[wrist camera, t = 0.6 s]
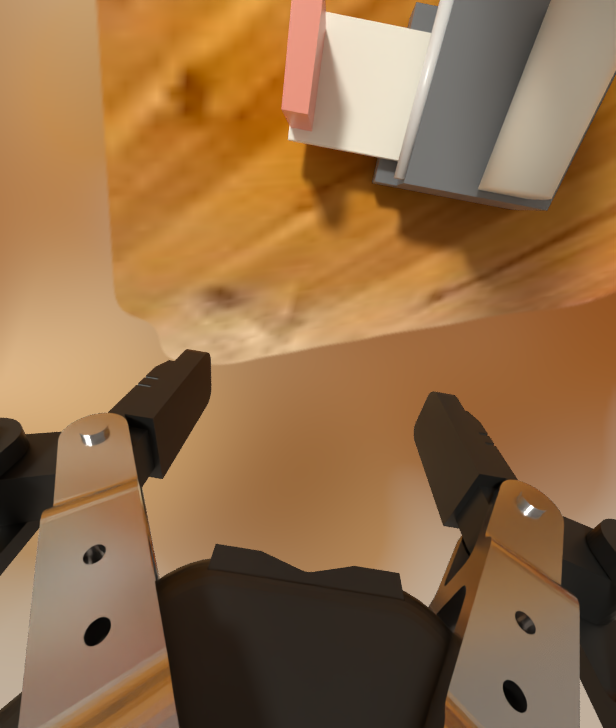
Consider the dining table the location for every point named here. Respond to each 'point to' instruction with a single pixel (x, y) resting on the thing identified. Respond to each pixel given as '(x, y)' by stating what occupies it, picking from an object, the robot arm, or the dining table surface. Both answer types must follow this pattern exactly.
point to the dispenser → (503, 98)
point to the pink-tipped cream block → (350, 80)
